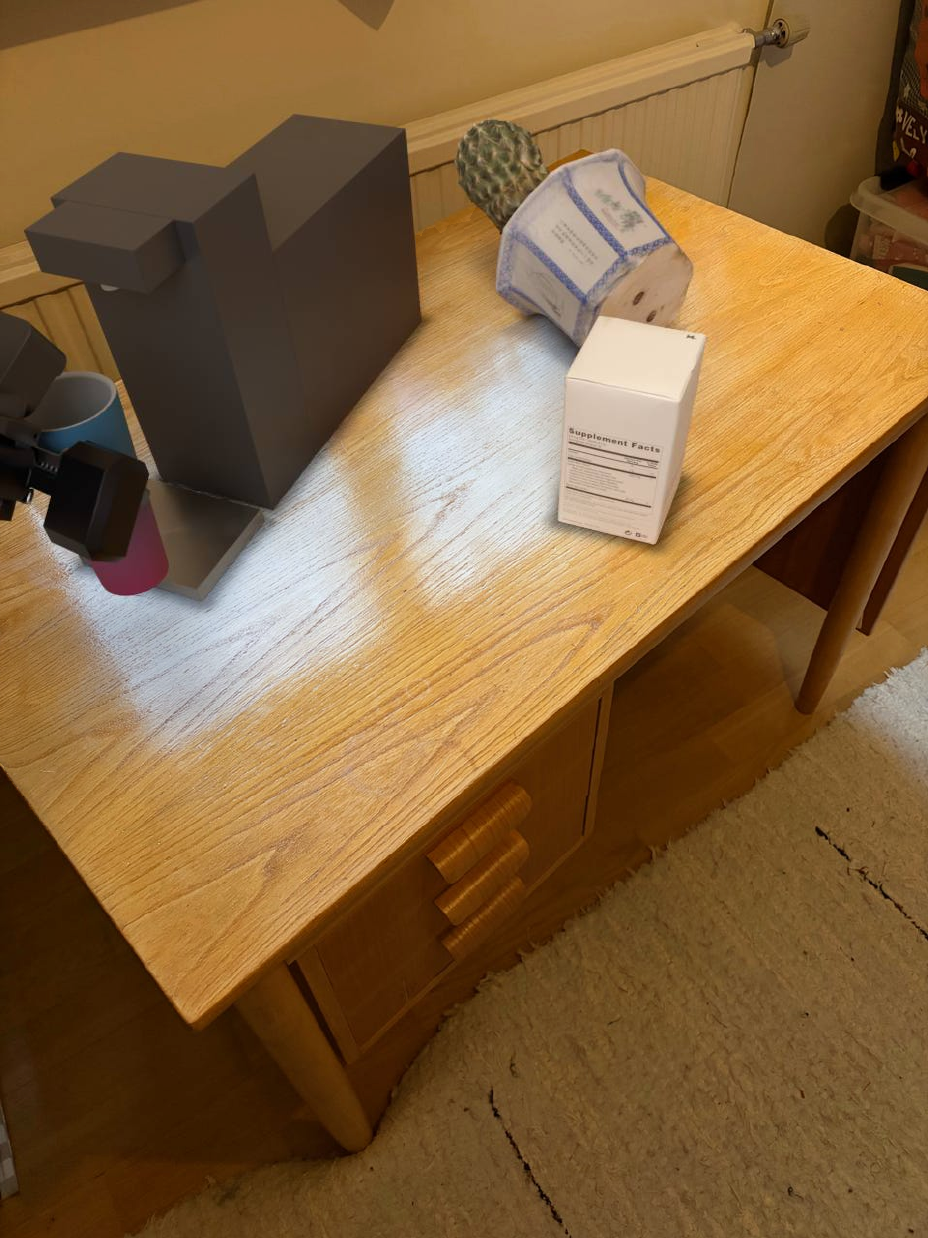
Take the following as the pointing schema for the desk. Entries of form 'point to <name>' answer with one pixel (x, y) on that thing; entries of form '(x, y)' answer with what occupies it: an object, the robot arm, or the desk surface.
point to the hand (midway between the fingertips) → (113, 483)
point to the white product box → (627, 426)
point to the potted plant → (572, 233)
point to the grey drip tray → (198, 536)
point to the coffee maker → (245, 293)
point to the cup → (96, 415)
